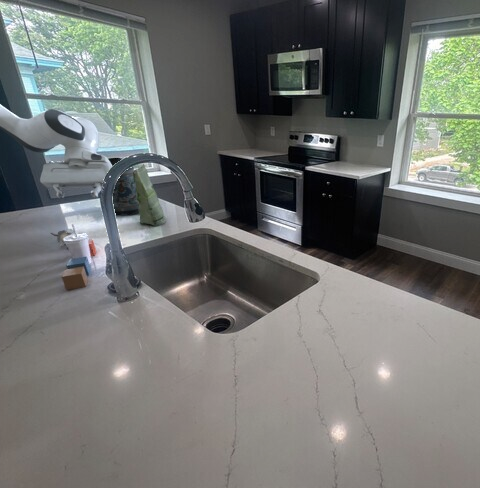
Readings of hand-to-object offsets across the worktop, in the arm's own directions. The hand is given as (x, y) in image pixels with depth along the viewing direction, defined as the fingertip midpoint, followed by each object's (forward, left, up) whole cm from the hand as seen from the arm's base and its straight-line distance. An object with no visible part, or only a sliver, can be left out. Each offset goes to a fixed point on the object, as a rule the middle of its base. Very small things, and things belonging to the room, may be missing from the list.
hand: (77, 197), depth 99 cm
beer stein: (+9, +43, -20) cm, 48 cm away
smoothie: (-2, -9, -20) cm, 22 cm away
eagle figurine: (-9, +9, -20) cm, 24 cm away
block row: (-2, -13, -20) cm, 24 cm away
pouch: (+19, +22, -20) cm, 35 cm away
